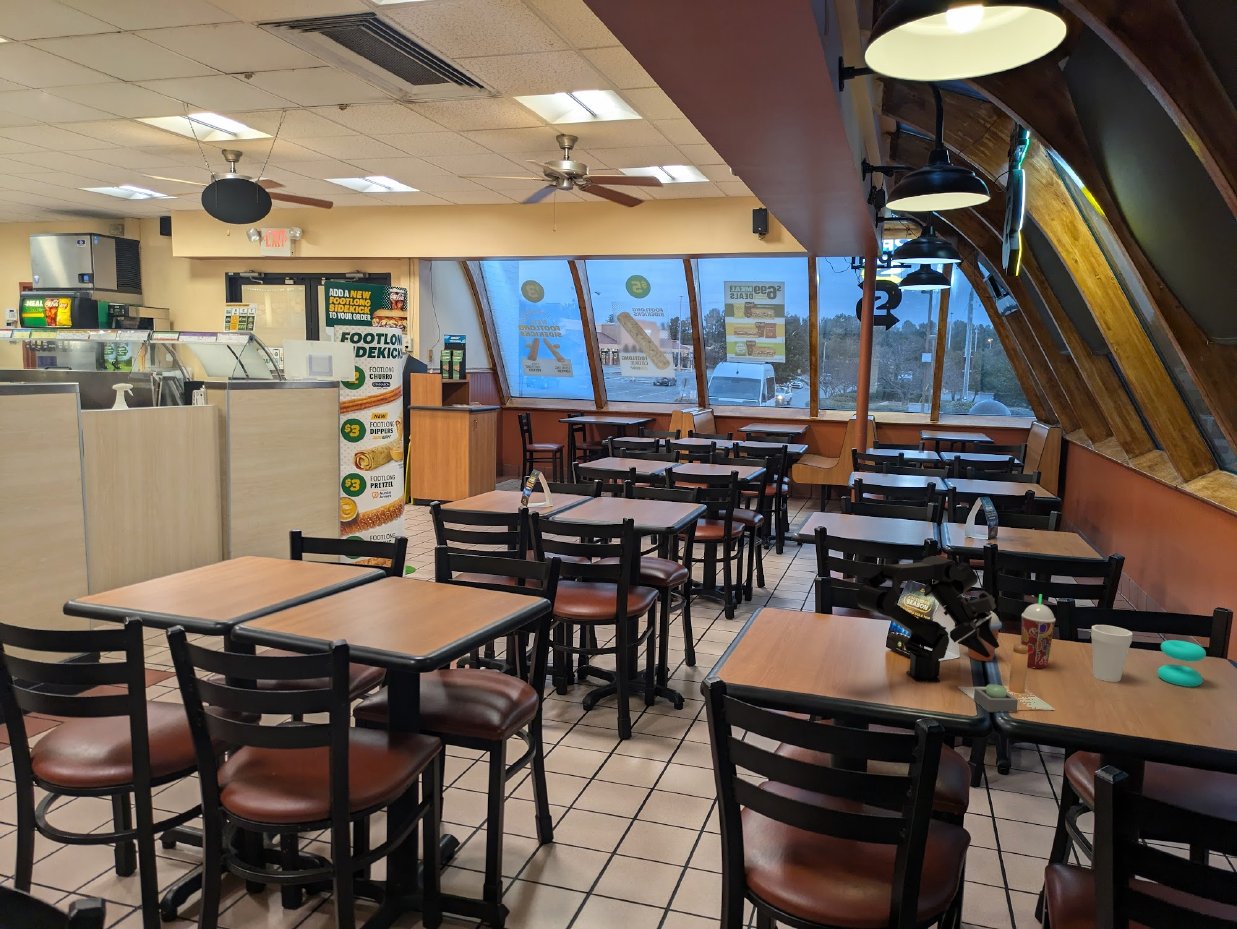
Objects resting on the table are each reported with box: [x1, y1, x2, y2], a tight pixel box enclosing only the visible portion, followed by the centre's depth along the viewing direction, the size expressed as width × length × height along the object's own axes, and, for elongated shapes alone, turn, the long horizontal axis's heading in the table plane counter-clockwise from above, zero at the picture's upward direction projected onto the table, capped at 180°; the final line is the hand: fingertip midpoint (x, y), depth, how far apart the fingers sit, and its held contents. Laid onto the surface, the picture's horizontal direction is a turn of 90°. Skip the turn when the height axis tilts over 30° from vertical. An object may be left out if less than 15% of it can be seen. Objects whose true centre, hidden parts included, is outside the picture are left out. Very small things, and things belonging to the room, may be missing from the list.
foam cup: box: [1090, 624, 1133, 683], centre depth 226 cm, size 10×9×13 cm
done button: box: [986, 683, 1007, 698], centre depth 204 cm, size 4×4×3 cm
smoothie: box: [1020, 593, 1056, 669], centre depth 233 cm, size 8×8×20 cm
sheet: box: [957, 685, 1056, 713], centre depth 208 cm, size 17×16×3 cm
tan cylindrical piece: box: [1008, 643, 1028, 693], centre depth 213 cm, size 4×4×12 cm
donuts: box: [1157, 639, 1207, 688], centre depth 226 cm, size 10×10×10 cm
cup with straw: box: [968, 611, 1003, 662], centre depth 238 cm, size 9×9×18 cm
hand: (993, 652), depth 216 cm, fingers open, 9 cm apart
